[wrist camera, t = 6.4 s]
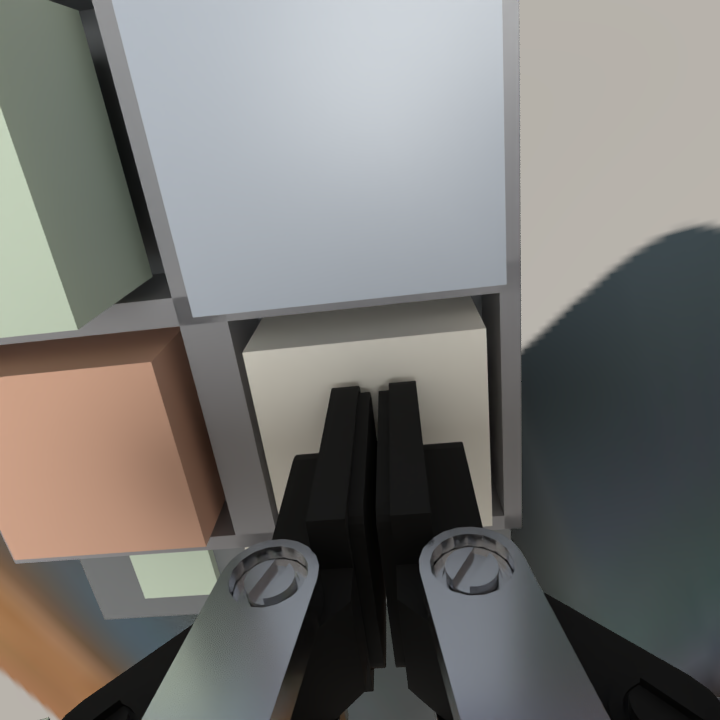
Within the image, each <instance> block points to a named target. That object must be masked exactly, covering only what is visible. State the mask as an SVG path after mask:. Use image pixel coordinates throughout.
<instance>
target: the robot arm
mask: <svg viewBox="0 0 720 720" xmlns="http://www.w3.org/2000/svg"><path fill="white" fill-rule="evenodd" d="M386 599H387V607H388V614H389V621H390V628H391V636H392V643H393V650H394V657H395V664H396V667H406V673H407V681H408V689H410V690H411V691H412V692H413V693H414V694H415V695H417V696H418V697H419V698H420V699H421V700H422V701H423V702H425V703H426V704H427V705H428V706H429V707H430V708H431V709H433V710H434V715H435V720H720V698H719V697H716V696H715V695H714V694H713V693H712V692H711V691H710V690H709V689H708V688H706V687H705V686H703V685H702V684H700V683H699V682H698V681H696V680H695V679H693V678H692V677H691V676H689V675H687V674H686V673H684V672H682V671H680V670H679V669H677V668H675V667H673V666H672V665H670V664H668V663H666V662H665V661H663V660H661V659H659V658H658V657H656V656H654V655H652V654H651V653H649V652H647V651H645V650H644V649H642V648H640V647H638V646H637V645H635V644H633V643H631V642H630V641H628V640H626V639H624V638H623V637H621V636H619V635H617V634H616V633H614V632H612V631H610V630H609V629H607V628H605V627H603V626H602V625H600V624H598V623H596V622H595V621H593V620H591V619H589V618H588V617H586V616H584V615H582V614H581V613H579V612H577V611H575V610H574V609H572V608H570V607H568V606H567V605H565V604H563V603H561V602H560V601H558V600H556V599H554V598H553V597H551V596H549V595H547V594H546V593H544V592H543V591H542V589H541V587H540V585H539V584H538V582H537V580H536V578H535V576H534V574H533V572H532V570H531V568H530V567H529V565H528V563H527V561H526V559H525V557H524V555H523V553H522V552H521V551H520V550H519V548H518V547H517V546H516V544H515V543H514V542H512V541H511V540H510V539H508V538H507V537H505V536H504V535H502V534H500V533H497V532H495V531H492V530H489V529H485V528H483V526H482V522H481V517H480V513H479V509H478V505H477V500H476V496H475V492H474V488H473V483H472V479H471V475H470V471H469V466H468V462H467V458H466V454H465V449H464V445H463V442H449V443H437V444H424V445H423V440H422V431H421V422H420V413H419V404H418V395H417V387H416V381H406V382H395V383H389V390H386V391H379V393H378V432H377V437H376V429H375V421H374V413H373V406H372V398H371V393H370V392H363V393H361V391H360V387H359V386H350V387H339V388H332V389H331V394H330V399H329V404H328V409H327V414H326V419H325V424H324V429H323V434H322V439H321V444H320V450H319V453H311V454H299V455H296V456H295V457H294V459H293V462H292V466H291V470H290V473H289V477H288V481H287V485H286V488H285V492H284V496H283V500H282V503H281V507H280V511H279V515H278V518H277V522H276V526H275V530H274V533H273V537H272V540H269V541H265V542H262V543H258V544H255V545H253V546H251V547H249V548H247V549H245V550H243V551H242V552H240V553H239V554H238V555H237V556H235V557H234V558H233V559H232V560H231V561H230V562H229V563H228V564H227V566H226V567H225V568H224V570H223V571H222V573H221V574H220V576H219V578H218V580H217V582H216V584H215V585H214V587H213V589H212V591H211V593H210V595H209V596H208V598H207V600H206V602H205V604H204V606H203V607H202V609H201V611H200V613H199V615H198V617H197V619H196V620H195V622H194V624H193V625H191V626H190V627H188V628H187V629H185V630H184V631H183V632H181V633H180V634H178V635H177V636H175V637H174V638H172V639H171V640H170V641H168V642H167V643H165V644H164V645H162V646H161V647H160V648H158V649H157V650H155V651H154V652H152V653H151V654H149V655H148V656H147V657H145V658H144V659H142V660H141V661H139V662H138V663H137V664H135V665H134V666H132V667H131V668H129V669H128V670H127V671H125V672H124V673H122V674H121V675H119V676H118V677H116V678H115V679H114V680H112V681H111V682H109V683H108V684H106V685H105V686H104V687H102V688H101V689H99V690H98V691H96V692H95V693H93V694H92V695H91V696H89V697H88V698H86V699H85V700H83V701H82V702H81V703H80V704H79V705H77V706H76V707H75V708H74V709H73V710H71V711H70V712H69V713H68V714H67V715H65V717H64V718H63V719H62V720H348V710H347V708H348V707H349V706H350V705H351V704H352V703H353V702H354V701H355V700H356V699H357V698H358V697H359V696H361V695H362V694H363V693H364V692H369V691H373V690H374V668H385V667H386ZM41 720H50V719H49V717H48V718H45V719H41Z"/></svg>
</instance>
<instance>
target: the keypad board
mask: <svg viewBox="0 0 720 720" xmlns="http://www.w3.org/2000/svg"><path fill="white" fill-rule="evenodd" d="M49 1H52V2H55V3H58V4H61V5H64V6H67V7H69V8H72V9H75V10H78V11H79V14H80V17H81V21H82V25H83V28H84V32H85V35H86V39H87V43H88V46H89V50H90V53H91V57H92V60H93V64H94V68H95V71H96V75H97V78H98V82H99V86H100V89H101V93H102V96H103V100H104V104H105V107H106V111H107V114H108V118H109V121H110V125H111V129H112V132H113V136H114V139H115V143H116V147H117V150H118V154H119V157H120V161H121V165H122V168H123V172H124V175H125V179H126V183H127V186H128V190H129V193H130V197H131V200H132V204H133V208H134V211H135V215H136V218H137V222H138V226H139V229H140V233H141V236H142V240H143V244H144V247H145V251H146V254H147V258H148V261H149V265H150V269H151V272H152V276H153V277H151V278H150V279H149V280H147V281H146V282H144V283H143V284H142V285H140V286H139V287H137V288H136V289H135V290H133V291H132V292H130V293H129V294H128V295H126V296H125V297H123V298H122V299H120V300H119V301H118V302H116V303H115V304H113V305H112V306H111V307H109V308H108V309H106V310H105V311H104V312H102V313H101V314H99V315H98V316H97V317H95V318H94V319H92V320H91V321H90V322H88V323H87V324H85V325H84V326H83V327H81V328H80V329H78V330H71V331H62V332H52V333H43V334H33V335H24V336H14V337H5V338H0V345H5V344H15V343H24V342H34V341H43V340H53V339H63V338H72V337H82V336H91V335H101V334H110V333H120V332H130V331H139V330H149V329H158V328H168V327H177V326H180V330H181V334H182V338H183V341H184V345H185V349H186V352H187V356H188V360H189V364H190V367H191V371H192V375H193V379H194V382H195V386H196V390H197V393H198V397H199V401H200V405H201V408H202V412H203V416H204V419H205V423H206V427H207V431H208V434H209V438H210V442H211V446H212V449H213V453H214V457H215V460H216V464H217V468H218V472H219V475H220V479H221V483H222V486H223V490H224V494H225V498H226V499H225V502H224V504H223V507H222V509H221V512H220V514H219V516H218V519H217V521H216V524H215V526H214V529H213V531H212V534H211V536H210V539H209V541H208V544H207V546H206V547H194V548H180V549H166V550H152V551H138V552H124V553H109V554H95V555H81V556H67V557H53V558H39V559H24V560H14V558H13V556H12V558H13V560H14V562H15V564H17V563H31V562H45V561H60V560H74V559H79V560H80V562H81V564H82V567H83V569H84V571H85V574H86V576H87V579H88V581H89V583H90V586H91V588H92V590H93V593H94V595H95V597H96V600H97V602H98V605H99V607H100V609H101V612H102V614H103V616H104V619H105V620H106V619H123V618H139V617H156V616H172V615H189V614H199V613H200V611H201V609H202V607H203V606H204V604H205V602H206V600H207V598H208V596H209V595H210V593H211V591H212V589H213V587H214V585H215V584H216V582H217V580H218V578H219V576H220V574H221V573H222V571H223V570H224V568H225V567H226V566H227V564H228V563H229V562H230V561H231V560H232V559H233V558H234V557H235V556H237V555H238V554H239V553H240V552H242V551H243V550H245V549H247V548H249V547H251V546H253V545H255V544H258V543H262V542H265V541H269V540H272V537H273V533H274V530H275V526H276V522H277V518H278V515H279V514H278V510H277V505H276V501H275V496H274V492H273V487H272V483H271V479H270V474H269V470H268V465H267V461H266V456H265V452H264V447H263V443H262V438H261V434H260V430H259V425H258V421H257V416H256V412H255V407H254V403H253V398H252V394H251V390H250V385H249V381H248V376H247V372H246V367H245V363H244V358H243V354H242V352H243V350H244V349H245V347H246V345H247V344H248V342H249V340H250V338H251V337H252V335H253V333H254V332H255V330H256V328H257V326H258V325H259V323H260V321H261V320H262V318H264V317H273V316H283V315H292V314H302V313H311V312H321V311H331V310H340V309H350V308H359V307H369V306H378V305H388V304H398V303H407V302H417V301H426V300H436V299H445V298H455V297H465V296H471V298H472V300H473V302H474V304H475V306H476V308H477V310H478V313H479V315H480V317H481V319H482V321H483V323H484V325H485V327H486V338H487V369H488V400H489V431H490V463H491V494H492V525H493V526H485V527H483V528H485V529H489V530H492V531H495V532H497V533H500V534H502V535H504V536H505V537H507V538H508V539H510V540H511V529H516V528H522V443H521V261H520V259H521V257H520V255H521V250H520V249H521V248H520V62H519V60H520V59H519V58H520V56H519V0H502V17H503V81H504V145H505V209H506V273H507V285H497V286H488V287H479V288H469V289H460V290H450V291H441V292H431V293H422V294H412V295H403V296H393V297H384V298H374V299H365V300H355V301H346V302H336V303H327V304H318V305H308V306H299V307H289V308H280V309H270V310H261V311H251V312H242V313H232V314H223V315H213V316H204V317H194V318H193V316H192V312H191V308H190V304H189V300H188V296H187V292H186V288H185V285H184V281H183V277H182V273H181V269H180V265H179V261H178V257H177V253H176V249H175V246H174V242H173V238H172V234H171V230H170V226H169V222H168V218H167V214H166V211H165V207H164V203H163V199H162V195H161V191H160V187H159V183H158V179H157V175H156V172H155V168H154V164H153V160H152V156H151V152H150V148H149V144H148V140H147V136H146V133H145V129H144V125H143V121H142V117H141V113H140V109H139V105H138V101H137V97H136V94H135V90H134V86H133V82H132V78H131V74H130V70H129V66H128V62H127V58H126V55H125V51H124V47H123V43H122V39H121V35H120V31H119V27H118V23H117V20H116V16H115V12H114V8H113V4H112V0H49ZM0 533H1V531H0ZM1 535H2V533H1ZM2 537H3V535H2ZM3 539H4V537H3ZM4 541H5V539H4ZM5 543H6V541H5ZM6 545H7V543H6ZM7 547H8V545H7ZM8 549H9V547H8ZM9 551H10V549H9ZM10 553H11V551H10ZM11 555H12V554H11ZM386 603H387V599H386Z"/></svg>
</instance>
